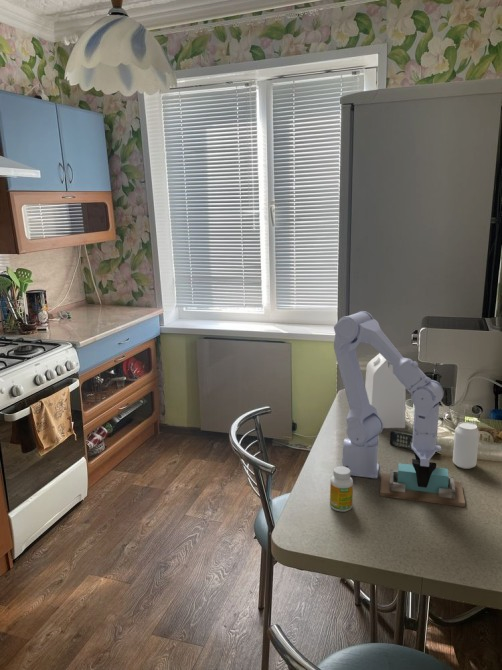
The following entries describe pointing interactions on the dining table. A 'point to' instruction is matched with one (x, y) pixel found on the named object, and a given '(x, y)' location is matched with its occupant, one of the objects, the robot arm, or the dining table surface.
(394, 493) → the wooden bracket tray
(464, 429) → the beverage can
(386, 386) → the milk
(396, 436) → the mobile phone
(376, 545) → the dining table surface
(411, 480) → the teal rectangular block
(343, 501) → the supplement bottle
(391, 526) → the dining table surface
